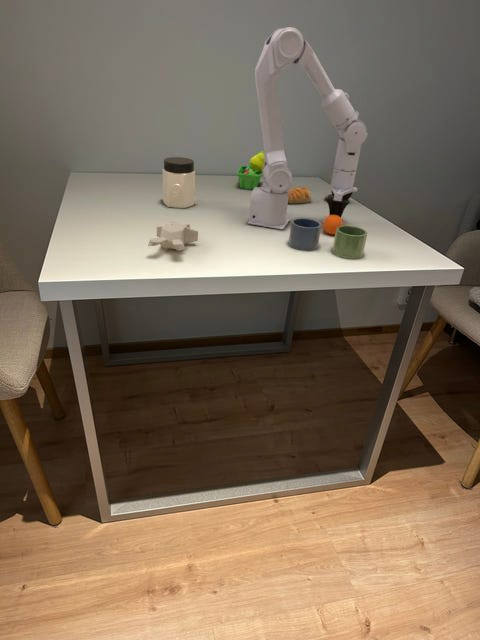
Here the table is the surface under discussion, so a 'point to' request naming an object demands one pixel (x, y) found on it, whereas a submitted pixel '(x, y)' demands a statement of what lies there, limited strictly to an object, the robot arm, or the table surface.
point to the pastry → (299, 195)
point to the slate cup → (304, 234)
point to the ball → (332, 223)
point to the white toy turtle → (174, 236)
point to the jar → (178, 182)
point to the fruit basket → (251, 172)
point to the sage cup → (349, 242)
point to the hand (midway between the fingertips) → (335, 220)
